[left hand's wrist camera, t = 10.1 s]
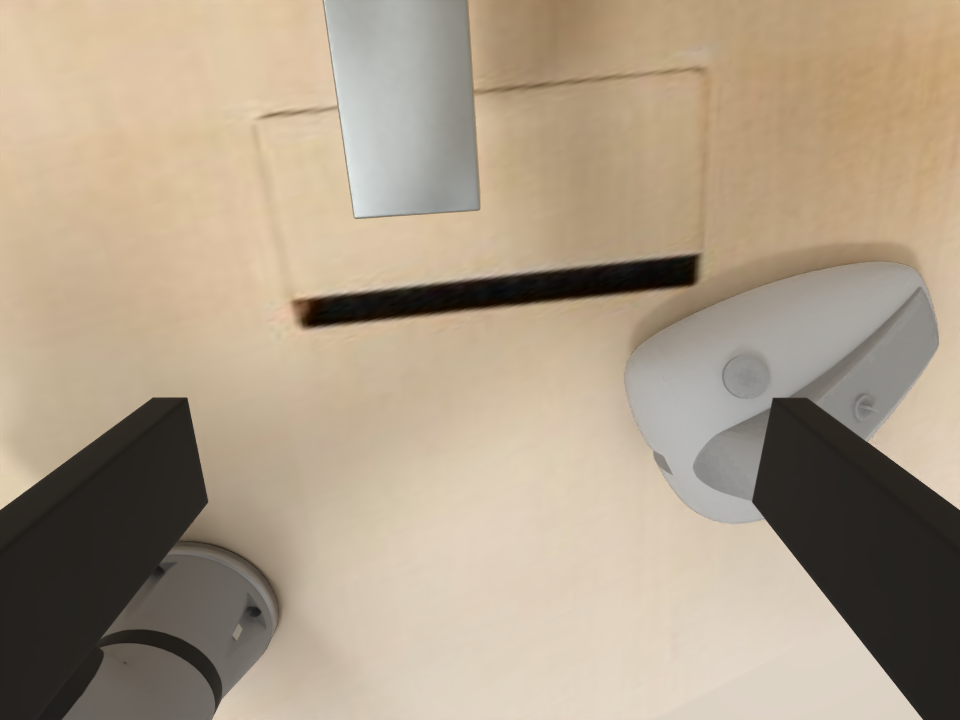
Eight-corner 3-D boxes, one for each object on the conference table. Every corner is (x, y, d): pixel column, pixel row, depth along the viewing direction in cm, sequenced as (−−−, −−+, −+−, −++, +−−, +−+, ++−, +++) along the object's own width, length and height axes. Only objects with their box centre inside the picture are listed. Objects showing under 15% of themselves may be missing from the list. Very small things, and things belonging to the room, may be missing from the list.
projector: (820, 507, 50) (946, 639, 37) (579, 459, 49) (617, 578, 35) (942, 273, 43) (1159, 328, 29) (662, 206, 41) (753, 231, 27)
